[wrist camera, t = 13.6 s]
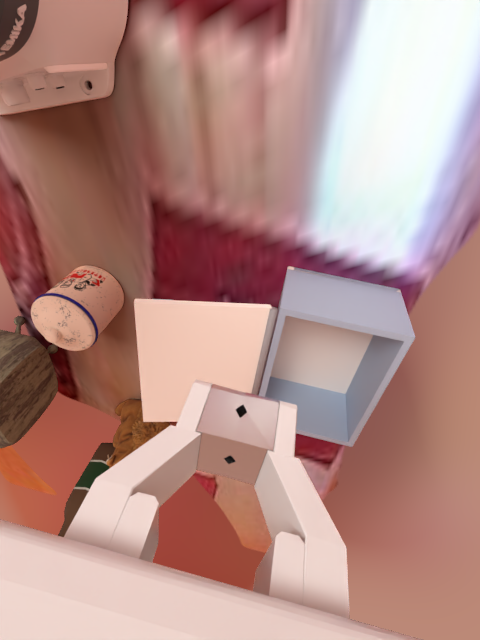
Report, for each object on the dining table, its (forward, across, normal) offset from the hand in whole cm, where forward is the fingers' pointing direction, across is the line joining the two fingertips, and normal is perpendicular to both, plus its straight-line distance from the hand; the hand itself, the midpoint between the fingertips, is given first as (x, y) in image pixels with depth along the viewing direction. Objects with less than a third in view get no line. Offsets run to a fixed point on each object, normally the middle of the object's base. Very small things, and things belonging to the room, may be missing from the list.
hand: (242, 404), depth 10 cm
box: (+33, -9, +23) cm, 41 cm away
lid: (+21, +5, +23) cm, 31 cm away
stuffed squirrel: (+33, +16, +50) cm, 62 cm away
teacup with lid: (+33, +26, +24) cm, 49 cm away
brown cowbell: (+33, +36, +39) cm, 63 cm away
